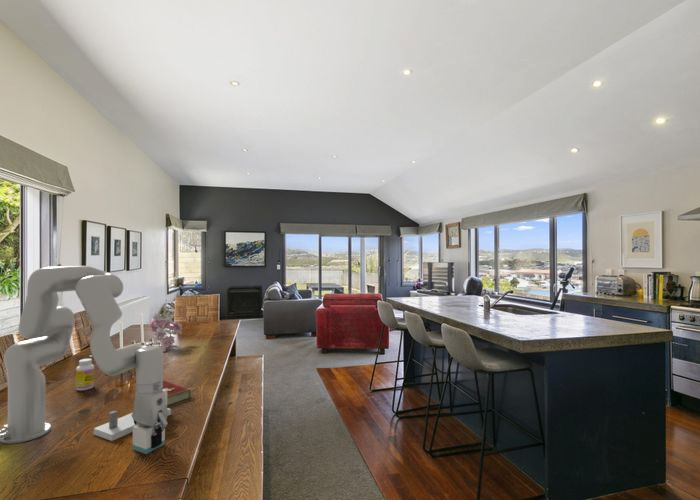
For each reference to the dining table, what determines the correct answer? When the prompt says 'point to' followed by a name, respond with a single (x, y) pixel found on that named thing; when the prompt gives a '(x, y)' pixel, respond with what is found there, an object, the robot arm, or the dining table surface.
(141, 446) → the sleeve
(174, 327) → the flower
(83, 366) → the supplement bottle
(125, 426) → the pin board
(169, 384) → the hardcover book
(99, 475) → the dining table surface
